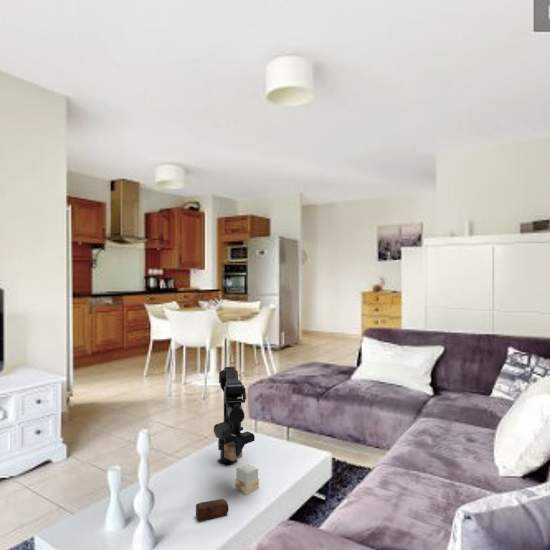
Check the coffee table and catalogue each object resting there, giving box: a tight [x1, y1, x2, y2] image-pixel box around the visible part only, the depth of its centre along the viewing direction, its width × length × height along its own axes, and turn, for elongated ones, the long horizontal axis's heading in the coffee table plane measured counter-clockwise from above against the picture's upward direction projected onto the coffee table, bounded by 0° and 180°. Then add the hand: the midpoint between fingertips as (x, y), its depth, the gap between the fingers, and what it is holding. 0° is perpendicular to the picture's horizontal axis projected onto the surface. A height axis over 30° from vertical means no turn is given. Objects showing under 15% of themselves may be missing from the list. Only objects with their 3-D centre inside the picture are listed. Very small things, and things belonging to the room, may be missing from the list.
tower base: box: [234, 478, 260, 495], centre depth 162 cm, size 6×6×4 cm
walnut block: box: [224, 441, 243, 461], centre depth 163 cm, size 5×5×5 cm
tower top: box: [235, 463, 259, 484], centre depth 162 cm, size 6×6×4 cm
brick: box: [195, 498, 229, 522], centre depth 144 cm, size 11×4×5 cm, turn 114°
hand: (233, 454), depth 163 cm, fingers closed on walnut block, 5 cm apart
